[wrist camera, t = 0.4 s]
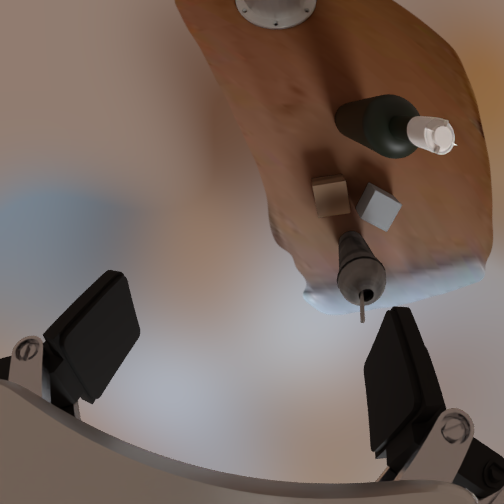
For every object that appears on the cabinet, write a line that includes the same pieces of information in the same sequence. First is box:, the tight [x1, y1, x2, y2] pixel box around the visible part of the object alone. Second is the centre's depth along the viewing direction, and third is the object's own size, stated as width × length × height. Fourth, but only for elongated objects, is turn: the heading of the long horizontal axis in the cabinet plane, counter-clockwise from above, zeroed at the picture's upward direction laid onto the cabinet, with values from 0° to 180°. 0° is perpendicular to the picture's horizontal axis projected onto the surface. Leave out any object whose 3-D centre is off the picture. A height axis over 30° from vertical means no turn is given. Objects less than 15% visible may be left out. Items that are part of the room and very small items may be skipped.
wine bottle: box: [335, 94, 458, 159], centre depth 24 cm, size 6×6×30 cm
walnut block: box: [312, 174, 350, 218], centre depth 41 cm, size 5×5×5 cm
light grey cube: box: [356, 183, 402, 232], centre depth 41 cm, size 5×5×5 cm
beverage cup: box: [337, 231, 386, 323], centre depth 38 cm, size 7×7×20 cm
